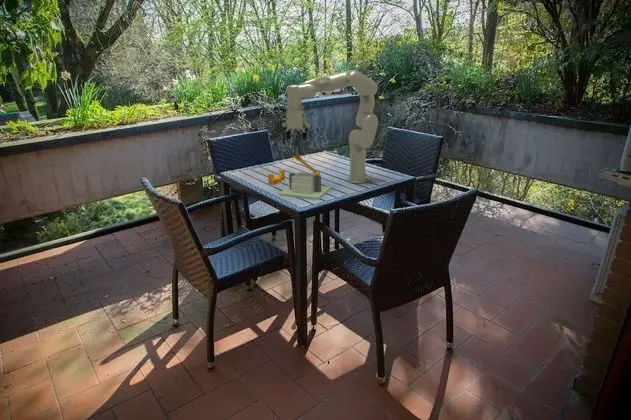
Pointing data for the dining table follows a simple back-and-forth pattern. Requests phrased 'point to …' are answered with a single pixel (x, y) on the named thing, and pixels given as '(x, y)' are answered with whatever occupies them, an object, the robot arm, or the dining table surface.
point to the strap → (306, 164)
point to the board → (309, 196)
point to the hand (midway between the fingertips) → (296, 138)
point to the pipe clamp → (278, 179)
